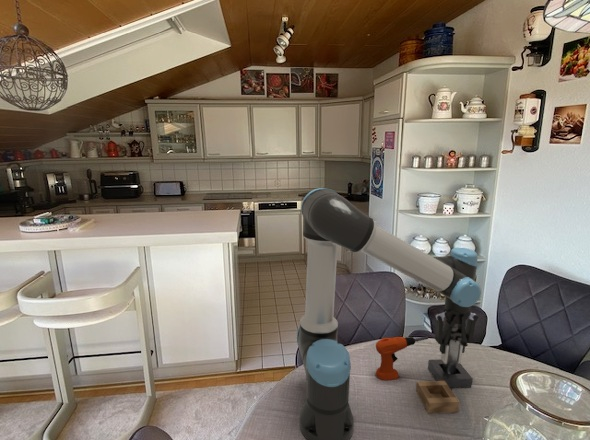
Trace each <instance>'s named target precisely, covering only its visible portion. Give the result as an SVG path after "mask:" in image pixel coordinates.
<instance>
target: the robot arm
mask: <svg viewBox="0 0 590 440" xmlns="http://www.w3.org/2000/svg"><path fill="white" fill-rule="evenodd" d="M300 206H301V208H300V209H301V215H302V218H303V222H302V223H303V225H302V226H303V227H302V237H303V238H304V239H305V241H306V242H307V260H306V261H307V262H306V280H305V281H306V284H305V287H306V289H305V305H304V306H305V310H304V311H305V314H303V316H301V318H300V319H299V326H298V328H297V331H296V343H297V347H298V349H299V352H300V356H301V360H302V364H303V367H304V372H305V378H306V389H305V390H306V392H305V393H306V394H305V397H306V398H305V400H304V404H303V406H302V408H301V410H300V414H299V428H300V431H301V434H302V435H303V436H304V438H305V439H306V440H350V439H351V438H352V436H353V433H354V428H355V427H354V426H355V419H354V414H353V413H352V409H351V406H350V403H349V397H350V381H351V380H350V378H351V377H350V375H351V370H352V365H351V363H352V362H351V356H350V353H349V351H348V349H347V348H346V347H345V345H344V344H343V343H339V342H338V330H339V329H338V327H339V322H338V320H337V319H336V318H335V317H334V314H335V313H334V312H335V298H336V297H335V295H336V282H337V281H336V280H337V264H338V263H337V262H338V248H339V247H338V246H341V247H342V248H344V249H346V250H348V251H351V252H352V253H354V254H355V253H357V254H358V253H362V254H365V255H367V256H368V257H371V258H372V259H373V260H374V259H375V260H376V261H379V262H380V263H383V264H384V265H386V266H388V267H389V268H391V269H394V270H395V271H397V272H399V273H401V274H403V275H405V276H407V277H409V278H411V279H413V280H414V281H416V282H417V283H420V284H422V285H424V286H426V287H427V288H429V289H432V290H433V291H435V292H437V293H438V294H440V295H442V296H444V297H445V300H444V309H443V311H442V312H441V313H438V312H437V313H434V317H435V328H434V329H435V331H434V341H436V343H437V344H438V345H439V352H440V353H441V355H440V359H441V360H442V361H443V362H444V364H447V359H448V351H449V346H448V344H447V343H448V340H449V337H450V334H451V331H452V328H454V327H455V326H456V325H457V328H458V329H459V330H460V331H461V332H462V340H461V341H460V345H459V352H458V360H457V362H458V363H460V364H461V363H462V356H463V354H464V353H465V352H466V351H465V350H466V349H465V348H466V347H468V346H469V345H468V344H472V343H473V339H474V333H475V327H476V323H477V321H478V320H479V315H477V314H476V313H475V312H471V310H472V306H473V305H475V304H477V302H478V301H479V299H480V298H481V294H482V291H481V287H480V285H479V284H478V283H477V282H476V280H475V279H476V274H477V267H478V253H477V252H476V251H475V250H473V249H470V248H468V247H467V248H466V247H454V248H452V249H451V250H450V254H449V255H446V256H431V255H430V254H428V253H426V252H424V251H423V250H420V249H419V248H417V247H416V246H414V245H412V244H410V243H409V242H406V241H405V240H403V239H401V238H399V237H398V236H397V235H394V234H392V233H390V232H388V231H387V230H385V229H383V228H382V227H380V226H379V225H376V222H375V220H374V218H372V217H371V216H369V215H366V213H364V212H362V211H361V210H359V208H357V207H356V206H355V205H354V204H353V203H351V202H350V201H349V200H348V199H347V198H345V197H343V196H342V195H340V194H339V193H338V192H336V190H334V189H330V188H325V187H320V188H315V189H312V190H311V191H310V192H308V193H307V194H306V195H305V196H304V198H303V200H302V202H301V205H300ZM466 320H467V322H466ZM444 322H445V323H444Z"/></svg>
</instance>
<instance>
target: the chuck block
mask: <svg viewBox="0 0 590 440" xmlns="http://www.w3.org/2000/svg"><path fill="white" fill-rule="evenodd" d="M427 362H428V363H427V370H428V371H429V372H430V374H431V376H432V377H433V379H434V381H445V382H446V383H447V385H448V386H449V388H450V389H451V390H453V389H472V387H473V380H474V379H473V377H472V375H470V373H469V372H468V371H467V369H466V368H465V367H464V366H463V364H461V363H458V362H457V367H456V373H455V374H447V373H445V372H444V371H443V363H444V362H443V361H442V360H441V358H439V359H428V361H427Z"/></svg>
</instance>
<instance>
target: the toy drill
mask: <svg viewBox="0 0 590 440" xmlns="http://www.w3.org/2000/svg"><path fill="white" fill-rule="evenodd" d="M428 339H429V337H428V336H422V337H413V336H409V337H405V336H396V337H383V338H381V339H378V341H377V342H376V343H375V350H376V351H377V353H378V354H380V361H381V362H380V365H379V367H378V368H376V371H375V376H376V378H377V379H379V380H381V381H394V380H398V378H399V377H400V374H399V371H398V370H397V369H396V368H394V363H395V362H396V361H397V360H398V357H397V356H396V354H395V353H397V352H400V351H402V350H405V349H407V347H409V346H412V345H415V344H416V342H421V341H425V340H426V341H427V340H428Z"/></svg>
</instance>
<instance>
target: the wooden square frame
mask: <svg viewBox="0 0 590 440" xmlns="http://www.w3.org/2000/svg"><path fill="white" fill-rule="evenodd" d="M415 389H416V390H415V392H416V394H417V395H418V397H419V399H420V401H421V403H422V405H423V407H424V408H425V410H426V412H427V413H428V414H439V413H441V414H442V413H444V414H445V413H458V412H459V408H460V400H459V399H458V397H457V396H456V395H455V393H454V392H453V390H452V389H450V388H449V386H448V385H447V383H446V382H445V381H436V380H427V381H425V380H424V381H416V388H415Z"/></svg>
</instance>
